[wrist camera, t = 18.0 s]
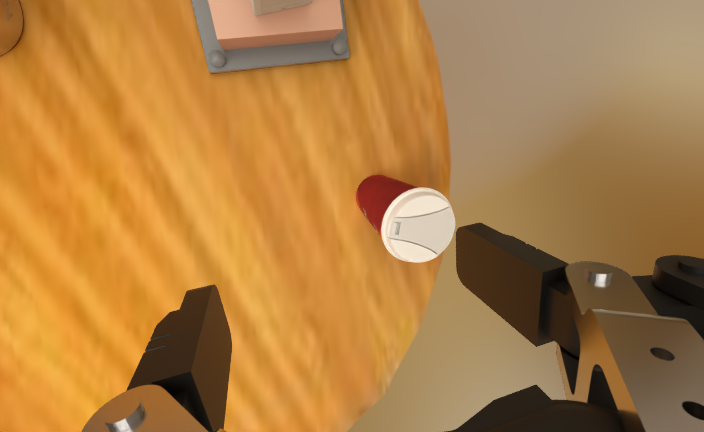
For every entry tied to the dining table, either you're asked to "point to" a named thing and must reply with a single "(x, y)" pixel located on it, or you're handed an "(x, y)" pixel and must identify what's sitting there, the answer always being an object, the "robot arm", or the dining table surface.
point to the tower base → (265, 53)
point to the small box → (275, 5)
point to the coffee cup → (407, 217)
